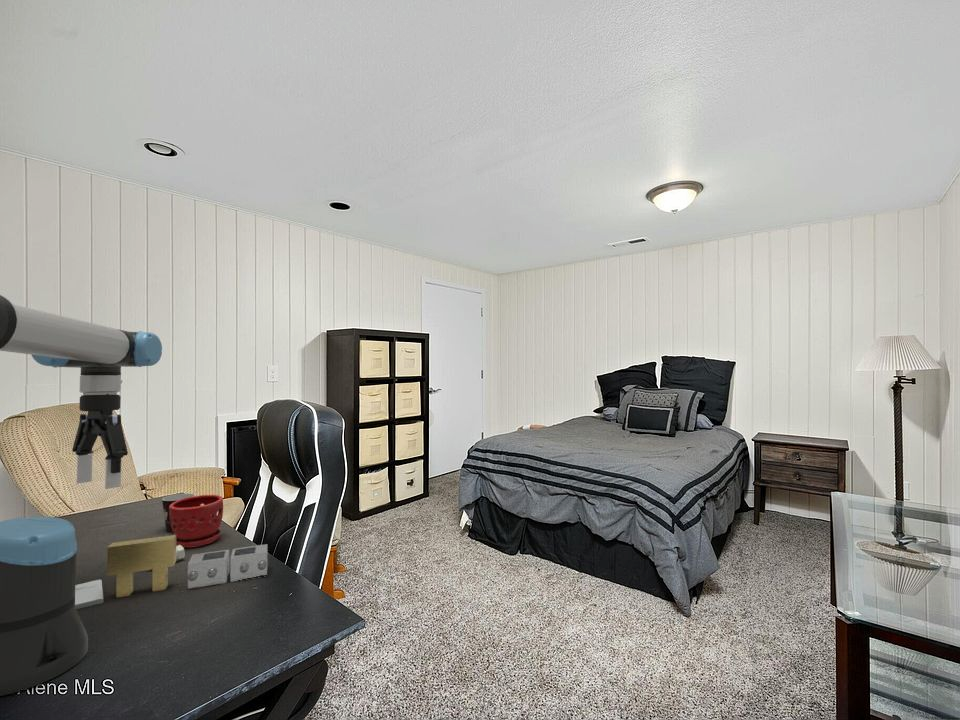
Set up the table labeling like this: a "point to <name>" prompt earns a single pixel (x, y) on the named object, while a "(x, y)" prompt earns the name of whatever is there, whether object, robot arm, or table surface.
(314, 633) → the table surface
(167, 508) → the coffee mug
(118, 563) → the tan notched arch block
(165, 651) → the table surface
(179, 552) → the pipe fitting
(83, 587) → the external hard drive
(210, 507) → the plant pot
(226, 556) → the twin gray knob boxes
